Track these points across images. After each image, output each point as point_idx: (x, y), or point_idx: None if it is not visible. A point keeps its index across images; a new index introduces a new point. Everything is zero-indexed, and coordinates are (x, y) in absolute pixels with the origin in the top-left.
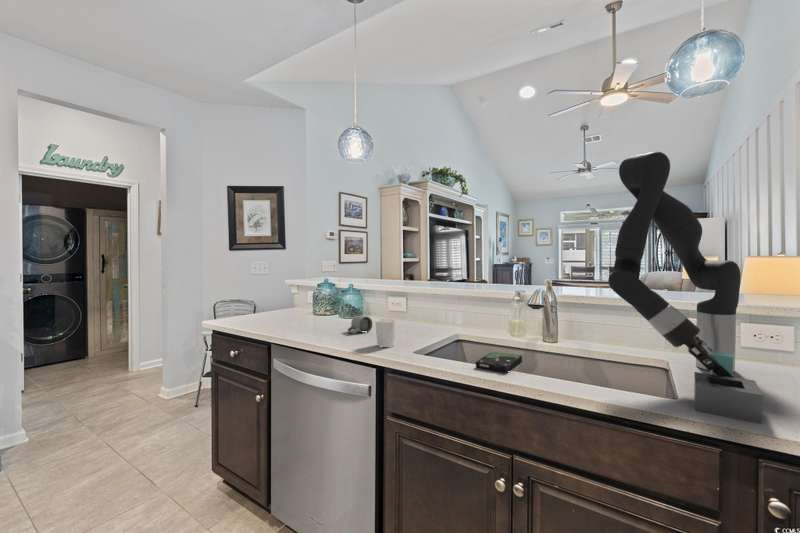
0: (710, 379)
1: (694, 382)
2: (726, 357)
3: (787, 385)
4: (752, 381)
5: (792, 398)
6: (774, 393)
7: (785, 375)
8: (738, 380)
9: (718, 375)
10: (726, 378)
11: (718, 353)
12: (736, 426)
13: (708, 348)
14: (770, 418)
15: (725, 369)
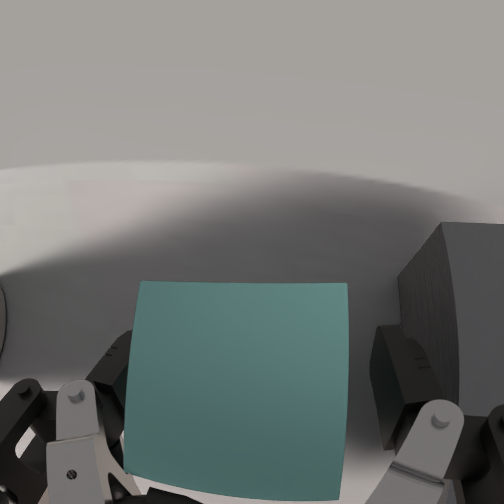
0: None
1: None
2: (345, 353)
3: (75, 173)
4: (467, 235)
5: (201, 164)
6: (167, 200)
7: (12, 179)
8: (496, 298)
9: (461, 403)
10: (499, 356)
11: (228, 428)
12: None
13: (110, 502)
14: None
15: (400, 367)
